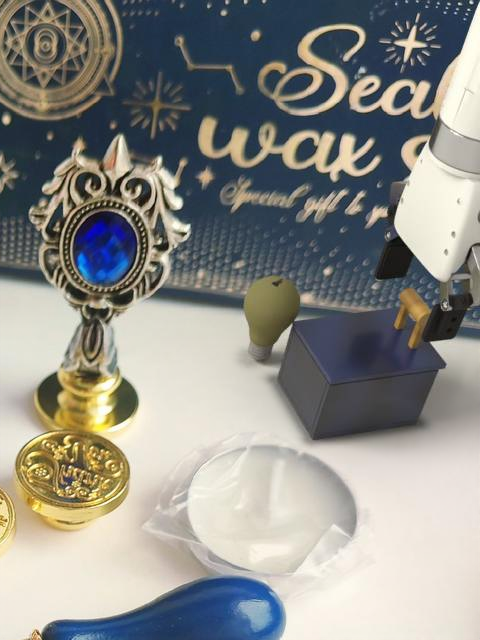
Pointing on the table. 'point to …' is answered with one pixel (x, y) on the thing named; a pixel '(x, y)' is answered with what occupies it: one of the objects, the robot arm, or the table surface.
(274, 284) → the light bulb
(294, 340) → the box
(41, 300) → the table surface
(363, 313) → the lid
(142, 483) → the table surface
